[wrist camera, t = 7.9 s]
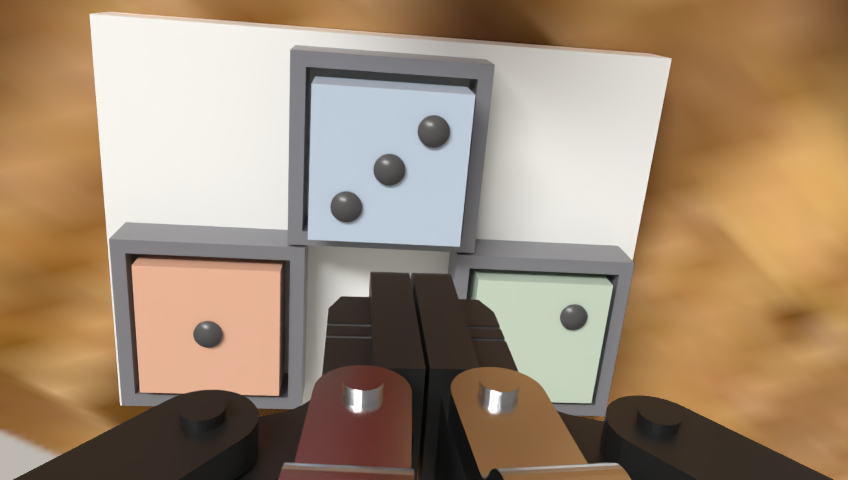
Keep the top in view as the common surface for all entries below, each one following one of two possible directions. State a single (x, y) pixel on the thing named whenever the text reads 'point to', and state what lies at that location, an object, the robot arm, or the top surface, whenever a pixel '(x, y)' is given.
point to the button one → (209, 324)
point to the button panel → (290, 157)
